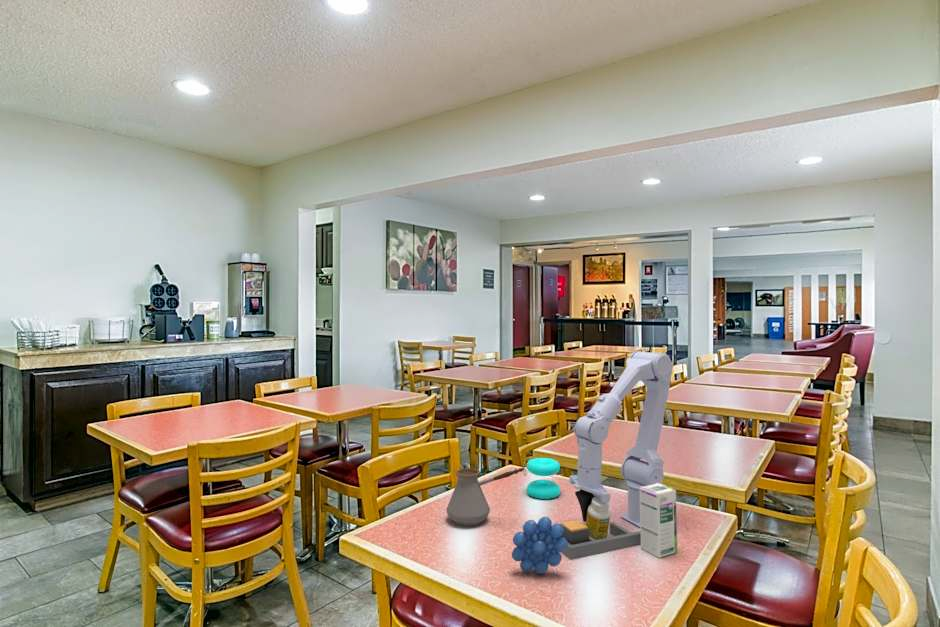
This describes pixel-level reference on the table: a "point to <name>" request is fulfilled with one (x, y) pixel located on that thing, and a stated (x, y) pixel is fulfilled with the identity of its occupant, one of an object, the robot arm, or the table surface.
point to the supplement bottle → (598, 518)
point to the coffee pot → (471, 497)
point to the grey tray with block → (586, 545)
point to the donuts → (543, 487)
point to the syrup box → (658, 519)
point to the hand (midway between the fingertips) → (588, 521)
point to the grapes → (539, 545)
